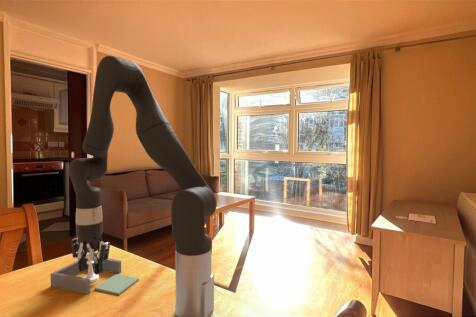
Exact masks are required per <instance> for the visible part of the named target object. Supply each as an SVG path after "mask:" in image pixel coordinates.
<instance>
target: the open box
mask: <svg viewBox="0 0 476 317" xmlns="http://www.w3.org/2000/svg"><path fill="white" fill-rule="evenodd" d="M97 257H98V256H97ZM85 258H86V260H87V262H88V258H87V255H86V257H85ZM98 258H99V257H98ZM92 261H94V259H92ZM102 264H103V270H102V272H110V273H114V274H119V275H120V274H121V273H122V260H120V259H114V258H109V257H108V259H107V260H105V261H103V262H102ZM88 267H89V264H87V269H86V270H88ZM92 267H93V270H95V261H94V263H93V264H92ZM80 273H82V272H80V271H79V261H78V260H76V261H73V262H72V263H69V264H67V265H65V266H63V267H61V268H59V269H58V270H55V271H53V272H51V273H50V287H53V288H57V289H61V290H66V291H70V292H74V293H79V294H84V295H89V293H91V283H90V279H87V278H83V277H81V276H77V275H79V274H80Z"/></svg>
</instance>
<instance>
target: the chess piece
mask: <svg viewBox="0 0 476 317" xmlns="http://www.w3.org/2000/svg"><path fill="white" fill-rule="evenodd" d="M86 256H87V258H88V262H87V264H89V267H88V269H87V274H86V275H84V276H83V277H82V278H87V279H90V284H91V283H95V282H97V281H99V280H100V276H99V275H100V274H98V275H96V274H95V272H94V269H93V267H92V264H93V263H94V261H92V259H93V257H91V254H90V253H89V252H88V253H87V255H86Z"/></svg>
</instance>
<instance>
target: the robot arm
mask: <svg viewBox="0 0 476 317" xmlns="http://www.w3.org/2000/svg"><path fill="white" fill-rule="evenodd" d="M116 92H117V93H122V94H125V95H126V96H127V97H128V98H129V100H130V101H131V103H132V105H133V107H134V110H135V115H136V116H135V133H136V135H137V138H138V140H139V142H140V143H141V146H142V147H143V149H144V151H145V152H146V154H147V156H148V157H149V158H150V159H151V160H152V161H153V162H154V163H155V164H157V165H158V166H159V167H160V168H161V169H163V170H164V171H165V172H166V173H167V174H169V176H170V177H171V178H172V179H173V180H174V182H175V183H176V184H177V187H178V188H179V190H180V191H178V192H177V193H176V194H174V196H173V198H172V201H171V208H170V211H171V212H170V218H171V234H172V239H173V243H174V244H175V317H210V315H212V314H211V313H213V310H214V309H215V308H214V307H215V302H214V301H215V275H214V274H212V243H213V242H212V238H211V236H210V235H209V234H207V233H205V232H206V231H205V229H206V228H205V220H207V219H209V218H211V217H212V215H214V214H215V213H216V210H217V197H216V195H215V193H214V191H213V190H212V188H211V187H210V186H209V184H208V182H207V181H206V179H204V177H203V176H202V174H200V172H199V171H198V169H197V168H196V167H195V165H194V163H193V162H192V160H191V157H190V156H189V155H188V153H187V151H186V150H185V148H184V146H183V145H182V143H181V141H180V140H179V137H178V135H177V134H176V132H175V130H174V129H173V127H172V125H171V123H170V122H169V120H168V118H166V116H165V114H164V112H163V111H162V109H161V107H160V105H159V103H158V101H157V100H156V97H155V96H154V93H153V92H152V89H151V87H150V85H149V83H148V80H147V79H146V75H145V74H144V72H143V70H142V68H141V67H140V65H139V64H137V63H135V62H134V61H131V60H130V59H129V60H127V59H124V58H122V57H119V56H114V55H106V56H104V57H102V59H101V60H100V61H99V63H98V65H97V68H96V72H95V77H94V86H93V94H92V103H91V111H90V112H91V113H90V118H89V123H88V127H87V129H86V132H85V136H84V139H83V143H82V151H83V152H84V153H86V154H87V155H89V156H92V157H81V158H75V159H73V160H71V161H70V163H69V166H68V174H69V177H70V180H71V184H72V186H73V190H74V192H75V201H76V202H75V206H76V209H75V210H76V211H75V237H74V238H72V239H70V242H69V244H70V248H71V254H72V258H74V259H77V260H76V261H79V271H80V272H81V273H82V272H85V271H86V270H88V269H87V260H86V258H85V257H86V256H87V255H88V254H89V253H90V254H91V257H93V259H94V261H95V269H94V273H95V274H96V275H100V274H101V273H102V272H103V264H102V262H103V261H105V260H107V259H108V258H109V255H110V248H111V247H110V246H111V243H110V241H107V242H104V241H103V239H102V235H103V233H104V225H103V224H104V221H103V220H104V219H103V216H104V215H103V208H102V191H101V189H100V188H99V187H95V186H89V184H88V181H94V180H100V179H102V178H103V177H104V176H105V175H106V173H107V171H108V155H109V153H108V152H109V148H110V145H111V142H112V139H113V136H114V131H115V128H114V127H115V126H114V121H113V120H114V119H113V116H112V113H111V102H112V99H113V97H114V94H115V93H116ZM88 252H89V253H88ZM98 257H99V258H98Z"/></svg>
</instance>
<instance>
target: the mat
mask: <svg viewBox="0 0 476 317" xmlns="http://www.w3.org/2000/svg"><path fill="white" fill-rule="evenodd" d="M139 281H140V278H138V277H134V276H129V275H122V274H120V273H119V274H118V273H114V275H112V276H111V277H109V278H107V279H106V280H105V281H103V282H100V283H99V284H98V285H97V286H95V287H94V290H95V291H99V292H103V293H108V294H113V295H118V296H120V295H121V294H123V293H124V292H125V291H127V290H128V289H130V288H131V287H132V286H134V285H135V284H136V283H138V282H139Z"/></svg>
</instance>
